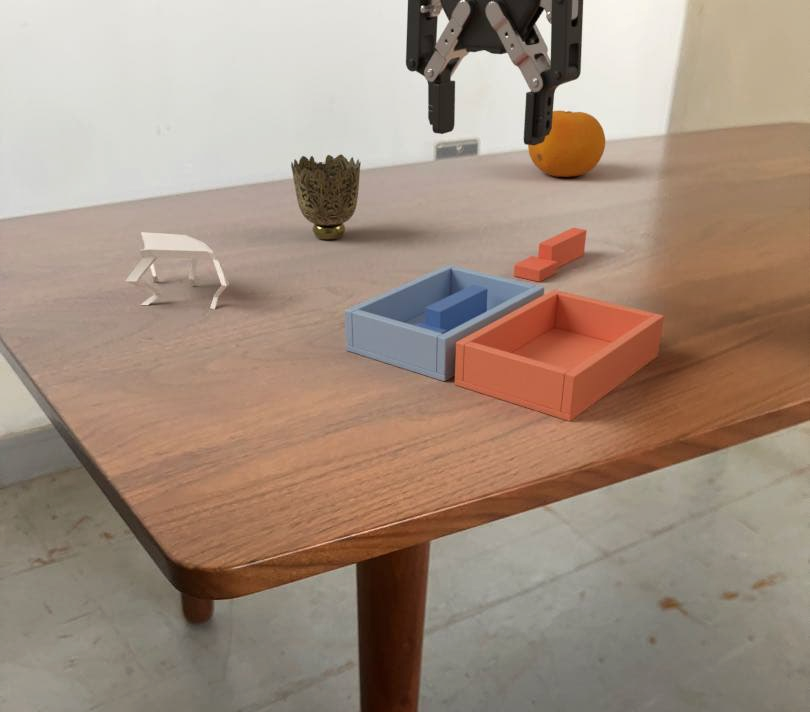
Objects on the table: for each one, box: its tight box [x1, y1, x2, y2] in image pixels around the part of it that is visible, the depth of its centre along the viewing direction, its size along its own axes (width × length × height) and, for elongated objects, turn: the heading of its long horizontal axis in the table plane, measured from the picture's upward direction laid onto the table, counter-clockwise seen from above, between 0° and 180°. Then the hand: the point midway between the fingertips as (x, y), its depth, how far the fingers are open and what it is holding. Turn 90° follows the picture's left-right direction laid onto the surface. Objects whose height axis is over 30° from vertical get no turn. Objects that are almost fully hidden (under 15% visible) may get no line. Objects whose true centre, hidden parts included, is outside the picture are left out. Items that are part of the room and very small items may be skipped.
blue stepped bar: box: [414, 285, 488, 334], centre depth 77 cm, size 10×3×3 cm, turn 142°
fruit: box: [527, 110, 606, 178], centre depth 125 cm, size 10×10×8 cm
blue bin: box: [344, 264, 545, 382], centre depth 77 cm, size 10×15×4 cm
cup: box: [290, 154, 361, 241], centre depth 100 cm, size 8×7×8 cm
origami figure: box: [124, 231, 230, 310], centre depth 85 cm, size 12×8×5 cm
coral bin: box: [454, 289, 665, 422], centre depth 72 cm, size 10×15×4 cm
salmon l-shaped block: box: [513, 227, 587, 283], centre depth 93 cm, size 10×3×3 cm, turn 142°
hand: (487, 137), depth 73 cm, fingers open, 8 cm apart
